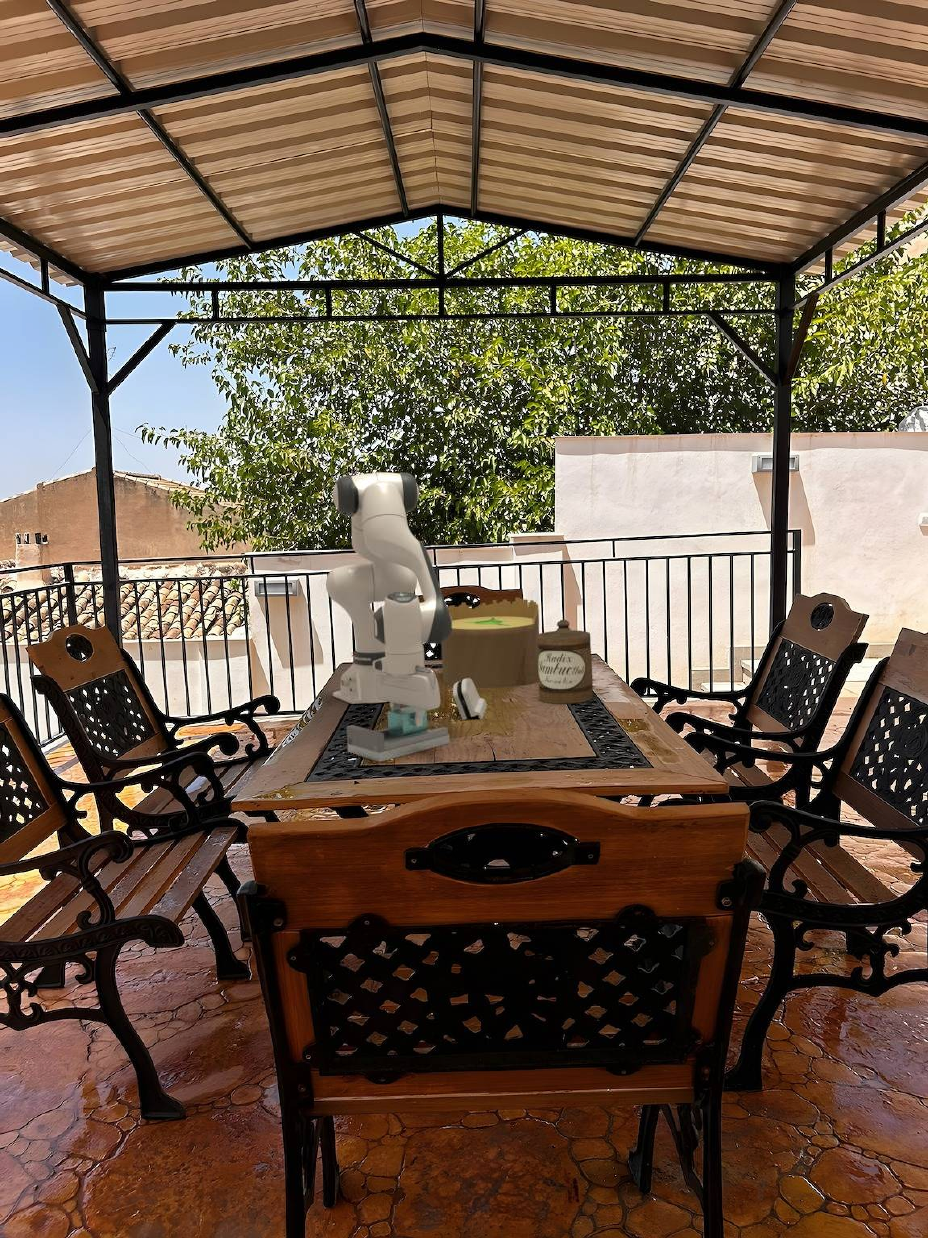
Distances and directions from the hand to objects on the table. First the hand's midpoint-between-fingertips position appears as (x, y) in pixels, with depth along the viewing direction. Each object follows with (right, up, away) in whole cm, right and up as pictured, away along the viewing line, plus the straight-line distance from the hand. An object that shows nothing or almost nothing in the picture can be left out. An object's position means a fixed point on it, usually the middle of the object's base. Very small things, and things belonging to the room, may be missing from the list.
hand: (408, 723), depth 206 cm
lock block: (0, -2, 0) cm, 2 cm away
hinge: (+14, -1, +31) cm, 34 cm away
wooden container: (+41, +2, +43) cm, 60 cm away
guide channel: (-2, -5, -1) cm, 6 cm away
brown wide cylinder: (+21, +5, +78) cm, 81 cm away
